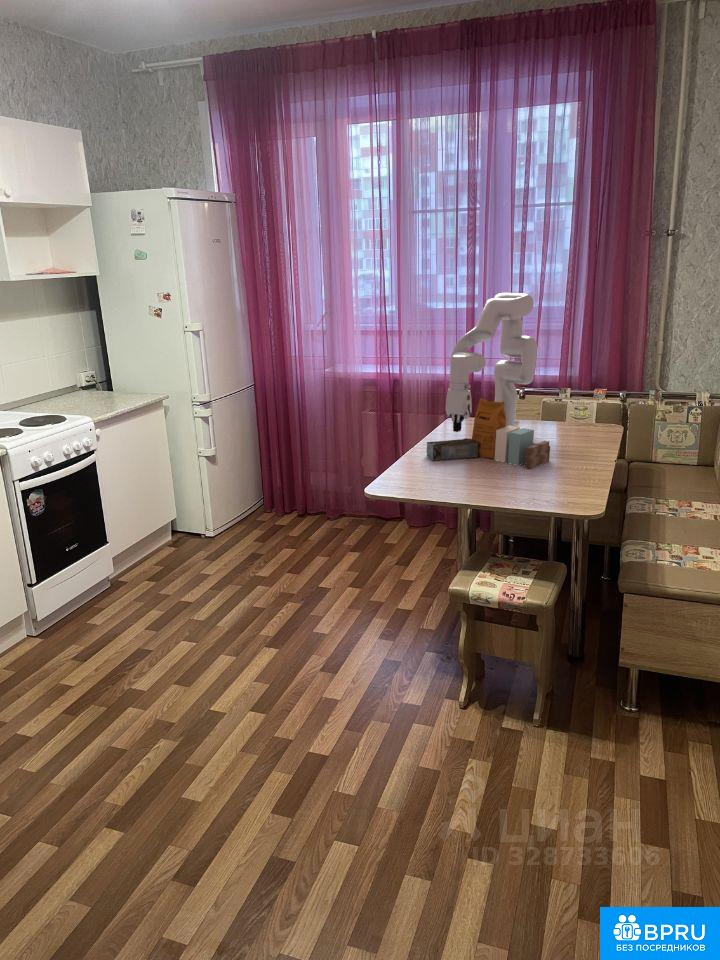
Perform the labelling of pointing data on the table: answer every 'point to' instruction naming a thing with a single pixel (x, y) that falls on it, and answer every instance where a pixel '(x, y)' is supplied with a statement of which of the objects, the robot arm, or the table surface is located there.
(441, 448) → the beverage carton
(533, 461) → the brown patterned block
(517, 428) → the book cream
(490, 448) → the coffee package
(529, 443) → the book teal
